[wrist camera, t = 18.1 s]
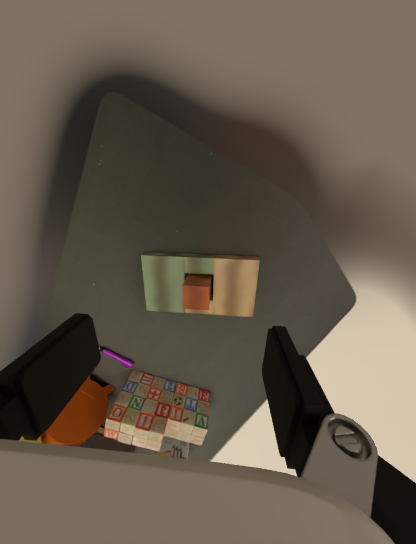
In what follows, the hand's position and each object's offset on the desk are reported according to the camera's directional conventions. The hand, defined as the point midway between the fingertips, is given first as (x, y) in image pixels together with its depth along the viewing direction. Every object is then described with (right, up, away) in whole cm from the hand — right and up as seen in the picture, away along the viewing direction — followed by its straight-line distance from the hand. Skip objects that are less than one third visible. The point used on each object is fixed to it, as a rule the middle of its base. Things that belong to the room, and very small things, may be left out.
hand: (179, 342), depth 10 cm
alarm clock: (-30, -27, +43) cm, 59 cm away
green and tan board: (0, +2, +30) cm, 30 cm away
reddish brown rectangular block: (0, +2, +30) cm, 30 cm away
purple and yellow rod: (-24, -16, +39) cm, 48 cm away
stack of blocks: (-9, -27, +42) cm, 50 cm away
